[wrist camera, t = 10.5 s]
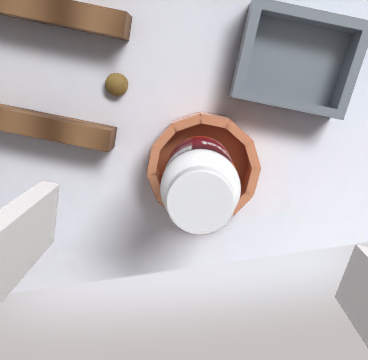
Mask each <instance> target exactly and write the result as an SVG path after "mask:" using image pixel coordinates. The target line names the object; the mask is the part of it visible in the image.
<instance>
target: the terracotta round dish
mask: <svg viewBox="0 0 368 360" xmlns="http://www.w3.org/2000/svg"><path fill="white" fill-rule="evenodd" d="M194 136H206V137H210V138H213V139H215V140H216V141H218V142H220V143H221V144H222V145H223V146H224V147H225V149H226V150H227V151H228V153H229V155H230V157H231V160H232V162H233V164H234V167H235V169H236V171H237V173H238V176H239V179H240V184H241V194H240V199H239V202H238V204H237V206H236V208H235V210H234V212H233V215H235V214H236V213H237V212H238V211H239V210H240V209H241V208H242V207H243V206H244V205H245V204H246V203H247V202H248V201H249V200H250V199H251V198H252V197H253V195H254V192H255V189H256V185H257V181H258V178H259V174H260V170H261V166H260V163H259V159H258V156H257V152H256V149H255V146H254V142H253V140H252V139H251V138H250V137H249V136H248V135H247V134H246V133H245V132H244V131H243V130H242V129H241V128H240V127H239V126H237V125H236V124H235V123H234V122H233V121H232V120H231V119H230V118H228V117H225V116H220V115H216V114H211V113H205V112H201V113H200V112H197V113H194V114H191V115H187V116H185V117H182V118H180V119H177V120H174V121H173V122H171V124H170V125H169V126H168V127H167V128H166V129H165V130H164V132H163V133H162V134H161V135H160V136H159V138H158V139H157V140H156V141H155V142H154V144H153V145H152V147H151V153H150V159H149V165H148V171H147V174H148V175H147V177H148V179H149V182H150V184H151V187H152V190H153V192H154V195H155V197H156V200H158V202H159V203H160V204H161V205H162V206H164V204H163V202H162V199H161V193H160V184H161V179H162V176H163V173H164V171H165V168H166V165H167V163H168V160H169V158H170V155H171V153H172V151H173V150H174V149H175V147H176V146H177V145H178V144H179V143H181V142H182V141H184V140H185V139H188V138H190V137H194ZM164 207H165V206H164ZM233 215H232V216H233ZM232 216H231V217H232Z"/></svg>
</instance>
